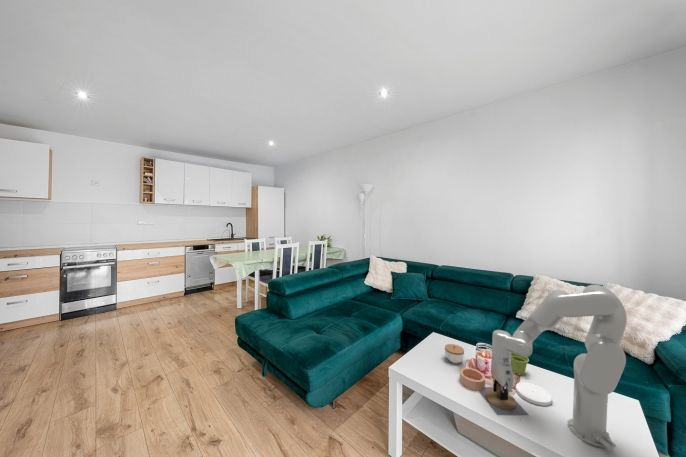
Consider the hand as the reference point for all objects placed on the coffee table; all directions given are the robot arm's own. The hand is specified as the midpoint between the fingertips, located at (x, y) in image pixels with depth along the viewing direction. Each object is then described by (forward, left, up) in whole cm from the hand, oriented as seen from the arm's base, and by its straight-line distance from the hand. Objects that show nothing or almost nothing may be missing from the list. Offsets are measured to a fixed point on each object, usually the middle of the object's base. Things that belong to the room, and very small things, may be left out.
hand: (500, 395), depth 117 cm
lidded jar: (+33, +7, -3) cm, 34 cm away
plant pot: (+22, -24, -3) cm, 33 cm away
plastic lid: (+3, -18, -3) cm, 19 cm away
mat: (0, 0, -3) cm, 3 cm away
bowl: (+12, +7, -3) cm, 14 cm away
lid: (0, 0, -2) cm, 2 cm away
